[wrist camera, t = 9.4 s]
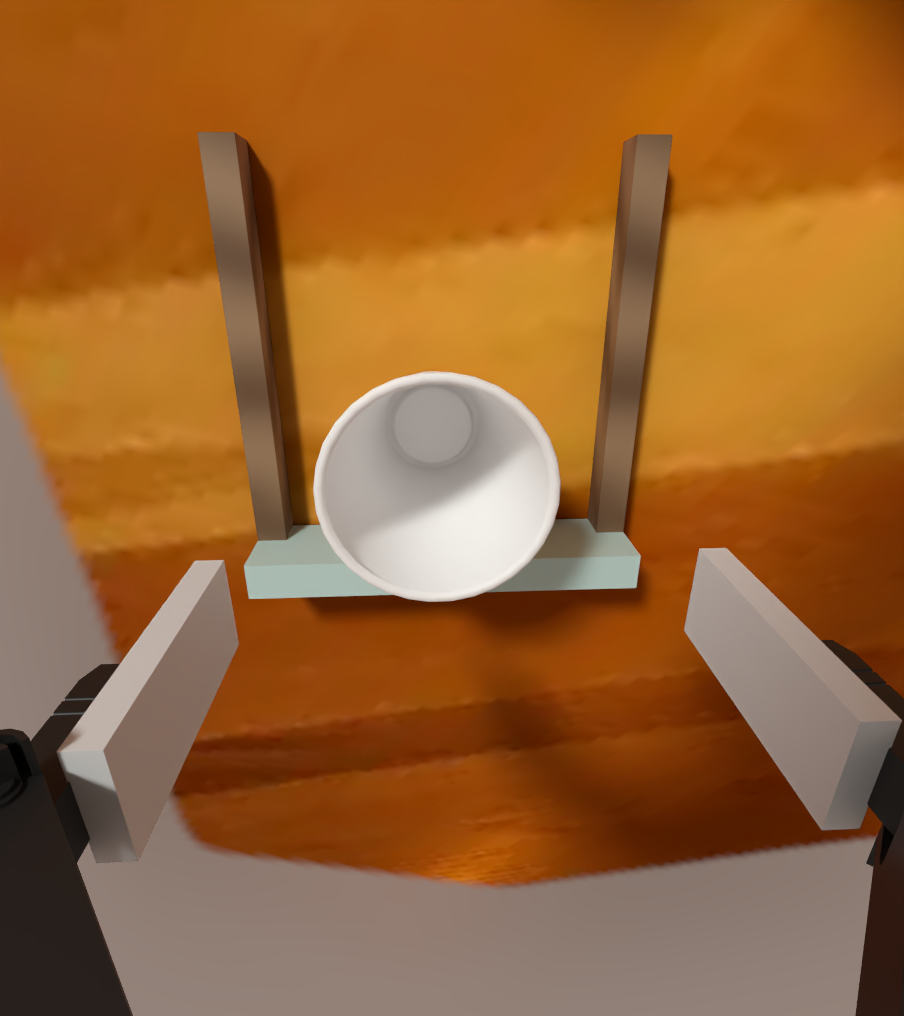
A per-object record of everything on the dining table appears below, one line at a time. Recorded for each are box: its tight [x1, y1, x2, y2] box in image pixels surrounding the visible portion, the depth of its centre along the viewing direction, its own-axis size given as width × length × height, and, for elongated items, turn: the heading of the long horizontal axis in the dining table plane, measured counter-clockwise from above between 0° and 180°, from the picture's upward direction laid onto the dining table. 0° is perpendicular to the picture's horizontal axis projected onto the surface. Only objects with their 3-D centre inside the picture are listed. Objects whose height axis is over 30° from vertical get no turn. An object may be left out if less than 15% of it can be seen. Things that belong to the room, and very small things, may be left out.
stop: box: [244, 519, 641, 599], centre depth 34 cm, size 2×21×5 cm, turn 90°
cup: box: [313, 371, 561, 602], centre depth 29 cm, size 10×10×11 cm
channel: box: [197, 132, 672, 541], centre depth 32 cm, size 22×21×2 cm
